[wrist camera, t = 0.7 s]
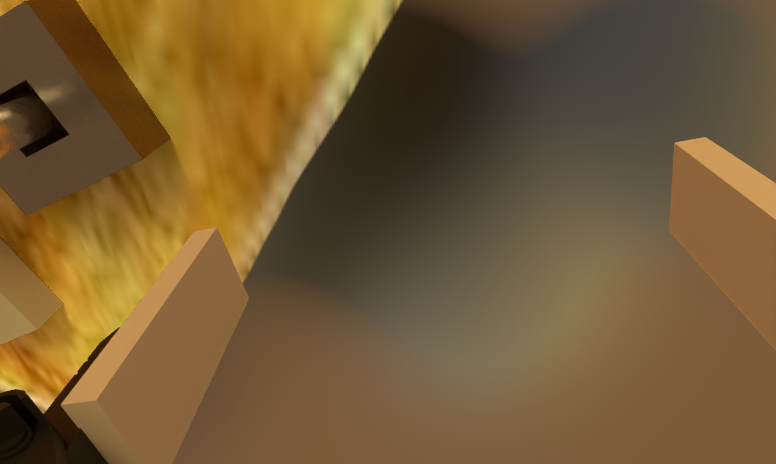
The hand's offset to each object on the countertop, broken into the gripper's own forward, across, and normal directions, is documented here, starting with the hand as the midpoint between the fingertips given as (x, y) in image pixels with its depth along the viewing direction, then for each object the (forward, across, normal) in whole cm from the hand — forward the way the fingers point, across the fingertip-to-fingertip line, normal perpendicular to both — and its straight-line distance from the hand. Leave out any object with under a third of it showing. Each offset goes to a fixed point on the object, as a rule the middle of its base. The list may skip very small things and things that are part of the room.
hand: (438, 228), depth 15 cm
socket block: (+27, -29, +2) cm, 40 cm away
